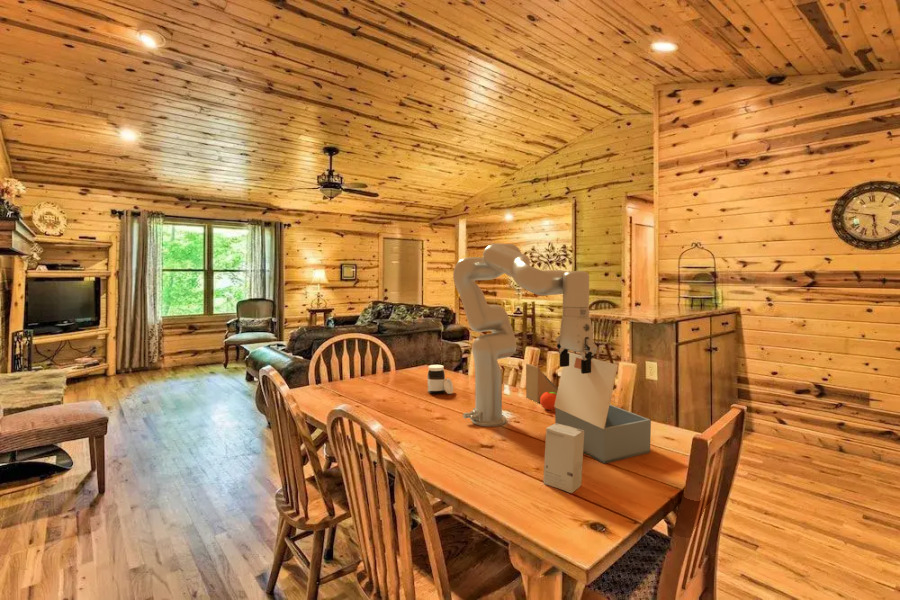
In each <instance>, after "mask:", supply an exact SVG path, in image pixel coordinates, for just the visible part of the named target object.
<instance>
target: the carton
mask: <svg viewBox="0 0 900 600" xmlns="http://www.w3.org/2000/svg"><path fill="white" fill-rule="evenodd" d="M554 410H555V411H554V413H555V418H554V419H555V421H554V422H555V423H558V424H562V425H565V426H570V427H573V428H576V429H580V430H583V431H584V446H583V454H585V455H587V456H588V455H589V457H590V458H593V460H596V461H598V462H599V463H601V464H603V465H605V464H609V463H612V462H613V463H614V462H616V461H621V460H626V459H629V457H630V458H633V456H634V457H637V455H638V456H642V455H646V454H649V453H651V438H652V437H651V436H652V435H651V429H652V427H651V426H652V420H651V419H650V418H647V417H644V416H642V415H640V414H639V415H638V414H637V413H634V412H631V411H628V410H626V409H624V408H620V407H618V406H616V405H613V404H610V405H609V409H608V414H607V418H606V423H605V428H604V429H602V428H600V427H598V426H595V425H593V424H591V423H589V422H586V421H584V420H582V419H580V418H578V417H575V416H573V415H571V414H569V413H567V412H564V411H562V410H560V409H558V408H556V407H555V408H554ZM555 423H554V424H555ZM641 454H642V455H641ZM625 458H626V459H625Z"/></svg>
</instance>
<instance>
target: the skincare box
mask: <svg viewBox="0 0 900 600" xmlns="http://www.w3.org/2000/svg"><path fill="white" fill-rule="evenodd" d="M545 430H546V431H545V444H544V445H545V446H544V447H545V448H544V465H543V484H544V485H545V486H549V487H553V488H556V489H559V490H562V491H564V492H567V493H570V494H573V493H574V492H575V491H576V490H578V489H579V488H580V487H581V486H582V481H583V465H584V464H583V461H584V459H583V458H584V453H583V446H584V431H583V430H580V429H576V428H573V427H570V426H565V425H562V424H558V423H554V424H551V425H550V426H547V427H546V429H545Z"/></svg>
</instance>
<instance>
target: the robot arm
mask: <svg viewBox="0 0 900 600" xmlns="http://www.w3.org/2000/svg"><path fill="white" fill-rule="evenodd" d="M452 274H453V275H452V276H453V277H452V279H453V282H454V286H455V288H456V290H457V293H458V295H459V297H460V300H461V303H462V306H463V310H464V313H465V316H466V317H465V318H466V320H467V323H468V326H469V327H470V329H471V331H473V332H474V333H483V332H489V331H491V333H487V334H485V333H484V334H482V335H479V336H478V337H476V338H475V339H474V341H473V342H472V348H471V350H472V355H473V361H474V376H475V377H474V378H475V379H474V383H475V384H474V385H475V386H474V387H475V388H474V389H475V392H474V394H475V395H474V396H475V401H474V402H475V407H474V408H472V410H471V411H470V412H464V413H463V414H462V417H463V419H470V420H471V422H472V423H473V424H474V425H477V426H479V427H490V428H491V427H498V426H502V425H504V424H506V422H507V417H506V416H505V415H504V414H502V413H503V406H502V405H503V395H502V394H503V385H502V384H503V379H502V378H503V377H502V375H503V374H502V373H503V372H502V369H501V366H500V364H499V362H498V360H501V359H506V358H509V357H511V356H512V357H513V355H514V354H515V353H516V351H517V340H516V337H515V334H514V329H513V327H512V323H511V321H510V318H509V315H508V312H507V311H506V310H505V308H503V307H502V306H501V305H498V304H488V303H487V299H486V297H485V294H484V292H483V290H482V289H481V288H480V286H479V285H478V284H477V283H476V281H489V280H495V279H497V278H499V277H501V276H503V275H504V274H505V275H507V276H509V277H511V278H512V279H513V280H514V282H515V284H517V285H518V286H519V287H520V288H522V289H524V290H525V291H528V292H530V293H532V294H535V295H536V296H537V295H538V296H556V295H562V317H561V321H560V323H561V324H560V330H559V335H558V336H557V337H555V342H556V347H557V349H558V354H559V367H560V368H563V367H566V366H569V353H568V352H570V351H571V352H573V353H579V355H581V356H582V358H583V360H581V373H582V374H586V373H591V360H592V359H594V357H595V356H596V352H597V350H598V346H597V345H596V344H595V343H594V336H593V335H594V333H593V325H592V320H591V318H590V316H589V315H590V274H589V273H588V272H587V271H584V270H572V271H571V270H568V271H567V270H561V269H560V270H559V269H558V270H557V269H556V270H555V269H554V270H550V269H549V270H542V269H539V268H536V267H534V266H532V265H531V262H530V258H529V257H528V255H526V254H525V253H522V252H521V249H520V248H519V247H518V246H516V245H515V244H513V243H498V242H497V243H490V244H489V245H487V246H486V247H485V248H484V250H483V252H482V256H481V257H480V256H469V257H464V258H461V259H459V260H458V261H457V263H456V264H455V265H454V268H453V273H452Z"/></svg>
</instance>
